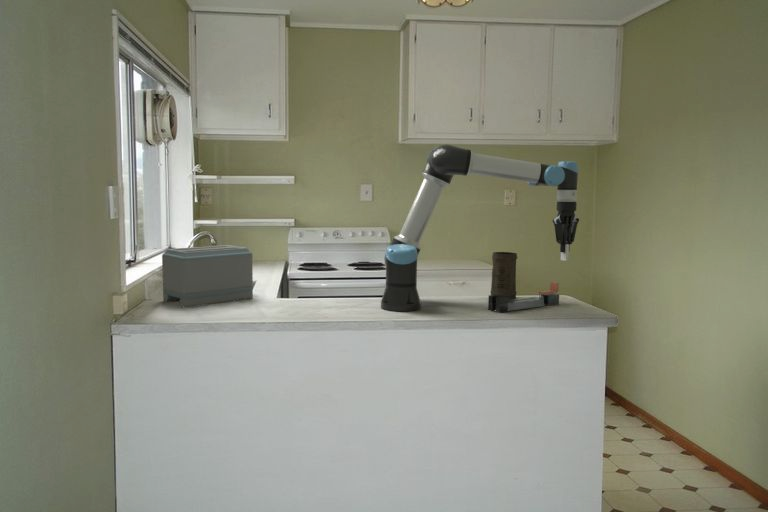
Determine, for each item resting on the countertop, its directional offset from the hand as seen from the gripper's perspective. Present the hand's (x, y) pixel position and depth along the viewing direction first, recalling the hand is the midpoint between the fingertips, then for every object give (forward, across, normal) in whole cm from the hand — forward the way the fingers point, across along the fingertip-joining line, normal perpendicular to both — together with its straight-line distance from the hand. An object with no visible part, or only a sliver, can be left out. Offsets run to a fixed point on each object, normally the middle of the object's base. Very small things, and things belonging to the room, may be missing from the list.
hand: (564, 260), depth 251 cm
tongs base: (+17, -20, +1) cm, 26 cm away
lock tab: (+13, -8, +1) cm, 15 cm away
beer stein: (+17, -16, +17) cm, 29 cm away
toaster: (+16, -119, +73) cm, 141 cm away
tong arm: (+17, -25, -1) cm, 30 cm away
